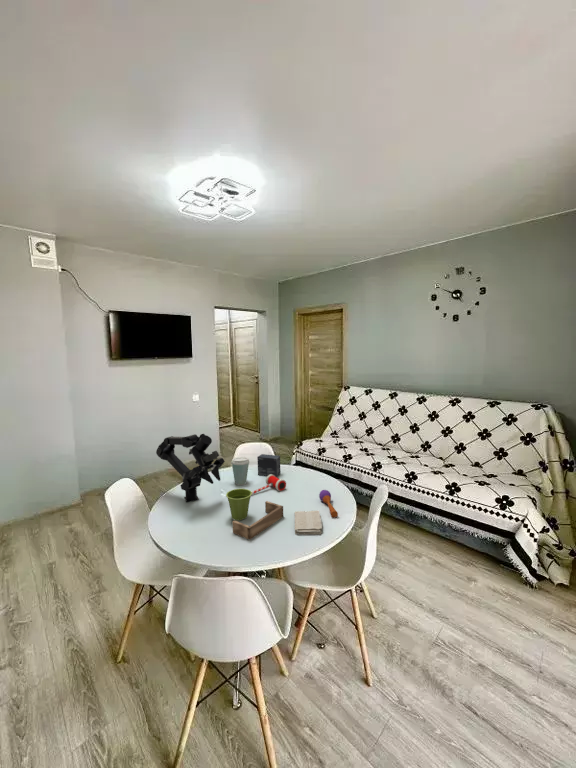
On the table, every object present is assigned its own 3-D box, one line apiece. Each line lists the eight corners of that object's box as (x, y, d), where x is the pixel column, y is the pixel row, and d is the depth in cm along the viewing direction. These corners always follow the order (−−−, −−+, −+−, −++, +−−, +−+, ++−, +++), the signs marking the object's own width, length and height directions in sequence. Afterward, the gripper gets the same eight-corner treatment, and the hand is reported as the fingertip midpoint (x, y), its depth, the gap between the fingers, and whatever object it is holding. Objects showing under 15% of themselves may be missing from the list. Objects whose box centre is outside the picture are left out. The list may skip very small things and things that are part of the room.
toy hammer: (251, 501, 167) (251, 489, 166) (240, 494, 176) (239, 482, 176) (286, 489, 181) (286, 478, 180) (274, 483, 190) (274, 472, 189)
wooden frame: (232, 532, 137) (232, 521, 136) (267, 511, 155) (266, 501, 155) (249, 540, 131) (249, 528, 131) (283, 516, 150) (283, 506, 149)
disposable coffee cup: (229, 481, 193) (228, 457, 192) (247, 478, 197) (246, 454, 196) (234, 488, 183) (233, 462, 182) (252, 484, 188) (251, 459, 186)
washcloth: (294, 536, 134) (294, 529, 134) (293, 515, 152) (293, 508, 152) (323, 536, 134) (323, 528, 134) (319, 514, 152) (319, 508, 152)
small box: (281, 474, 204) (280, 455, 203) (276, 477, 198) (276, 458, 196) (262, 471, 209) (261, 453, 208) (257, 475, 202) (256, 456, 201)
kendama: (327, 510, 147) (317, 489, 166) (329, 522, 148) (319, 499, 168) (339, 507, 148) (328, 486, 167) (341, 518, 149) (330, 496, 168)
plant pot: (253, 521, 146) (253, 497, 145) (227, 524, 143) (226, 500, 142) (251, 509, 157) (250, 487, 156) (226, 512, 155) (225, 489, 154)
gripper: (192, 451, 152) (208, 479, 146) (221, 442, 167) (237, 467, 161) (182, 464, 157) (198, 492, 152) (211, 454, 172) (227, 479, 167)
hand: (216, 481), depth 158 cm, fingers open, 4 cm apart
